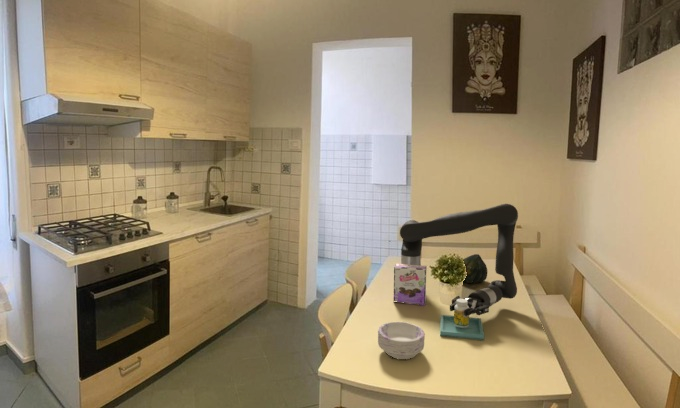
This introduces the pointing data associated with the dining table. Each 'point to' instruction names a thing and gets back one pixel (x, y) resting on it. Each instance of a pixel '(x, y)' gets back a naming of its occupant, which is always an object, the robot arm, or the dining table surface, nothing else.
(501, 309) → the dining table surface
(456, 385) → the dining table surface
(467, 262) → the squash
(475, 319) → the teal tray
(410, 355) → the paper bowls
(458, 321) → the supplement bottle
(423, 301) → the candy box
